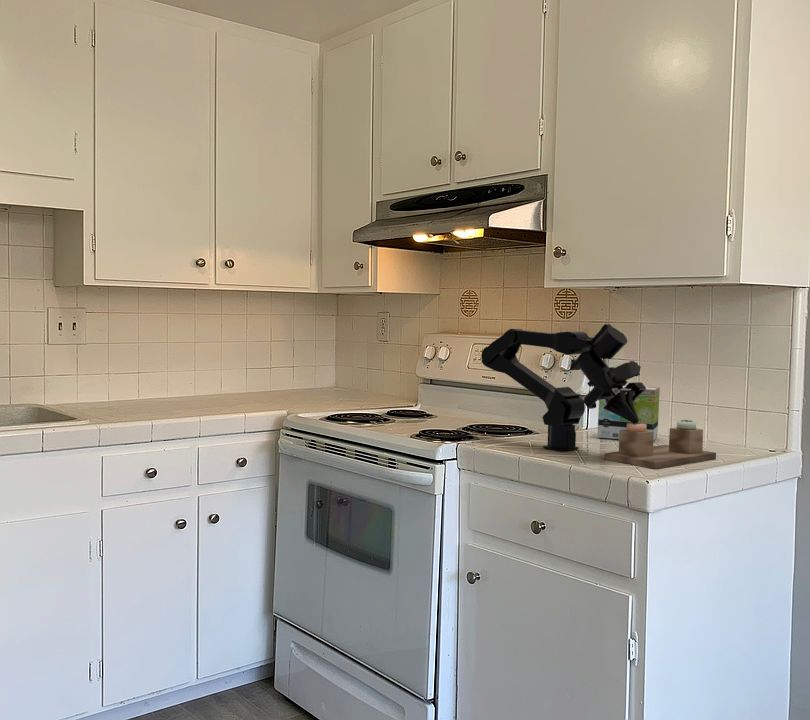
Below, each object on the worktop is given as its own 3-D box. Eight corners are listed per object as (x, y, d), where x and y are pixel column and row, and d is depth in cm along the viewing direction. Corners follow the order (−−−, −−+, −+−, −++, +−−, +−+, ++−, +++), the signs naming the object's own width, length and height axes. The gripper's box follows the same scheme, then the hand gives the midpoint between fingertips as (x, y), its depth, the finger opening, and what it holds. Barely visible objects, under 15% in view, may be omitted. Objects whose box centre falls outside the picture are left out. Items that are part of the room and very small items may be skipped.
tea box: (596, 438, 220) (598, 385, 219) (603, 434, 229) (605, 383, 228) (653, 443, 213) (655, 388, 213) (658, 438, 222) (660, 385, 222)
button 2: (672, 427, 191) (673, 420, 191) (683, 426, 194) (683, 418, 194) (689, 429, 188) (689, 422, 188) (699, 428, 190) (700, 421, 190)
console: (604, 459, 187) (605, 429, 186) (664, 450, 201) (665, 423, 201) (655, 469, 176) (657, 437, 175) (715, 458, 190) (717, 429, 190)
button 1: (622, 430, 186) (623, 422, 186) (634, 429, 188) (634, 421, 188) (638, 432, 182) (638, 425, 182) (650, 431, 185) (650, 423, 185)
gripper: (596, 350, 182) (638, 402, 175) (640, 349, 195) (680, 397, 187) (567, 382, 188) (605, 434, 181) (611, 379, 201) (649, 427, 193)
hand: (636, 422), depth 185 cm, fingers closed, pressing on button 1
